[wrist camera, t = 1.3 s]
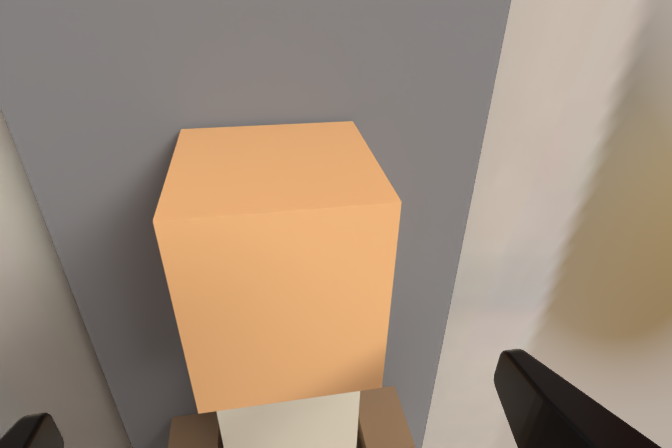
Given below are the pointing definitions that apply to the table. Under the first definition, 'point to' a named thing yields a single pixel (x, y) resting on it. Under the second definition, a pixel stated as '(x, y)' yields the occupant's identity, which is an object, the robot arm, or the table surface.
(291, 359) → the peach cube cap
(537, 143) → the table surface
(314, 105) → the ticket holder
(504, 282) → the table surface
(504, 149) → the table surface
